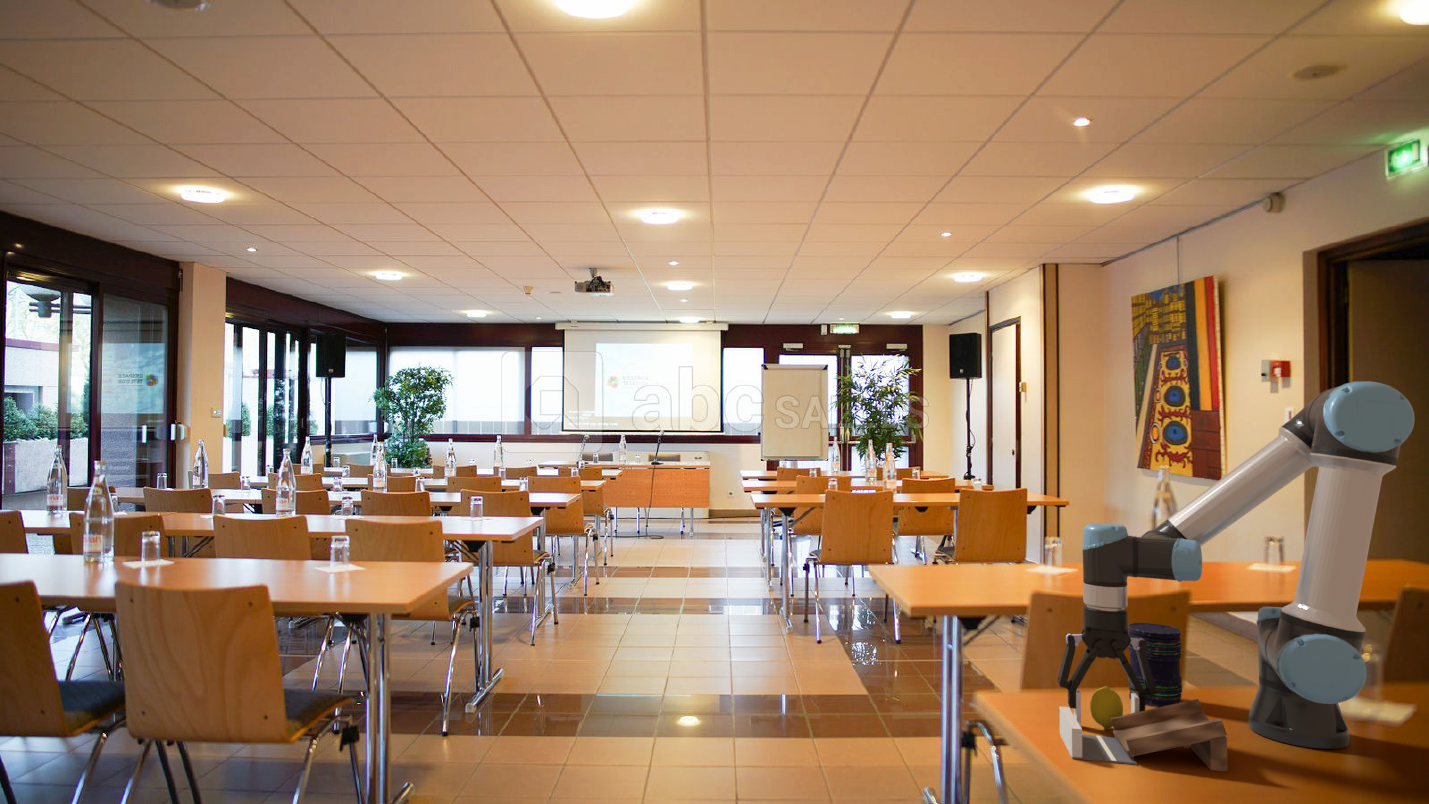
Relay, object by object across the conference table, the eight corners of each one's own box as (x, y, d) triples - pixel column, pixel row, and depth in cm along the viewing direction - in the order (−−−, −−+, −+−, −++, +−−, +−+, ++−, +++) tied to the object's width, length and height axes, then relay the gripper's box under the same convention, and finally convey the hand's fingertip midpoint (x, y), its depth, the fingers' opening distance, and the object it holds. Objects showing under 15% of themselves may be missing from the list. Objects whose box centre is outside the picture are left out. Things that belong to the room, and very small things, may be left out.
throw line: (1100, 737, 147) (1100, 736, 147) (1116, 762, 135) (1116, 760, 135) (1095, 737, 147) (1095, 735, 147) (1111, 762, 136) (1111, 760, 136)
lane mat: (1119, 739, 146) (1119, 737, 146) (1137, 765, 135) (1137, 763, 135) (1059, 734, 149) (1059, 732, 149) (1072, 758, 137) (1072, 756, 137)
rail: (1069, 735, 148) (1068, 707, 149) (1082, 759, 137) (1082, 729, 137) (1059, 734, 149) (1059, 706, 149) (1072, 758, 137) (1071, 728, 137)
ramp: (1204, 747, 143) (1203, 699, 143) (1229, 773, 132) (1228, 721, 132) (1110, 739, 146) (1109, 692, 147) (1126, 763, 135) (1126, 712, 136)
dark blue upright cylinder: (1163, 711, 163) (1162, 635, 163) (1118, 697, 171) (1117, 625, 172) (1192, 703, 168) (1191, 630, 168) (1147, 691, 176) (1146, 621, 177)
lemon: (1127, 736, 148) (1126, 691, 149) (1094, 733, 149) (1094, 689, 150) (1118, 726, 154) (1118, 683, 154) (1087, 723, 155) (1086, 680, 155)
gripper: (1163, 606, 154) (1165, 727, 152) (1039, 599, 159) (1040, 716, 158) (1176, 614, 146) (1177, 741, 145) (1046, 607, 151) (1046, 729, 150)
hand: (1106, 728), depth 151 cm, fingers open, 9 cm apart
